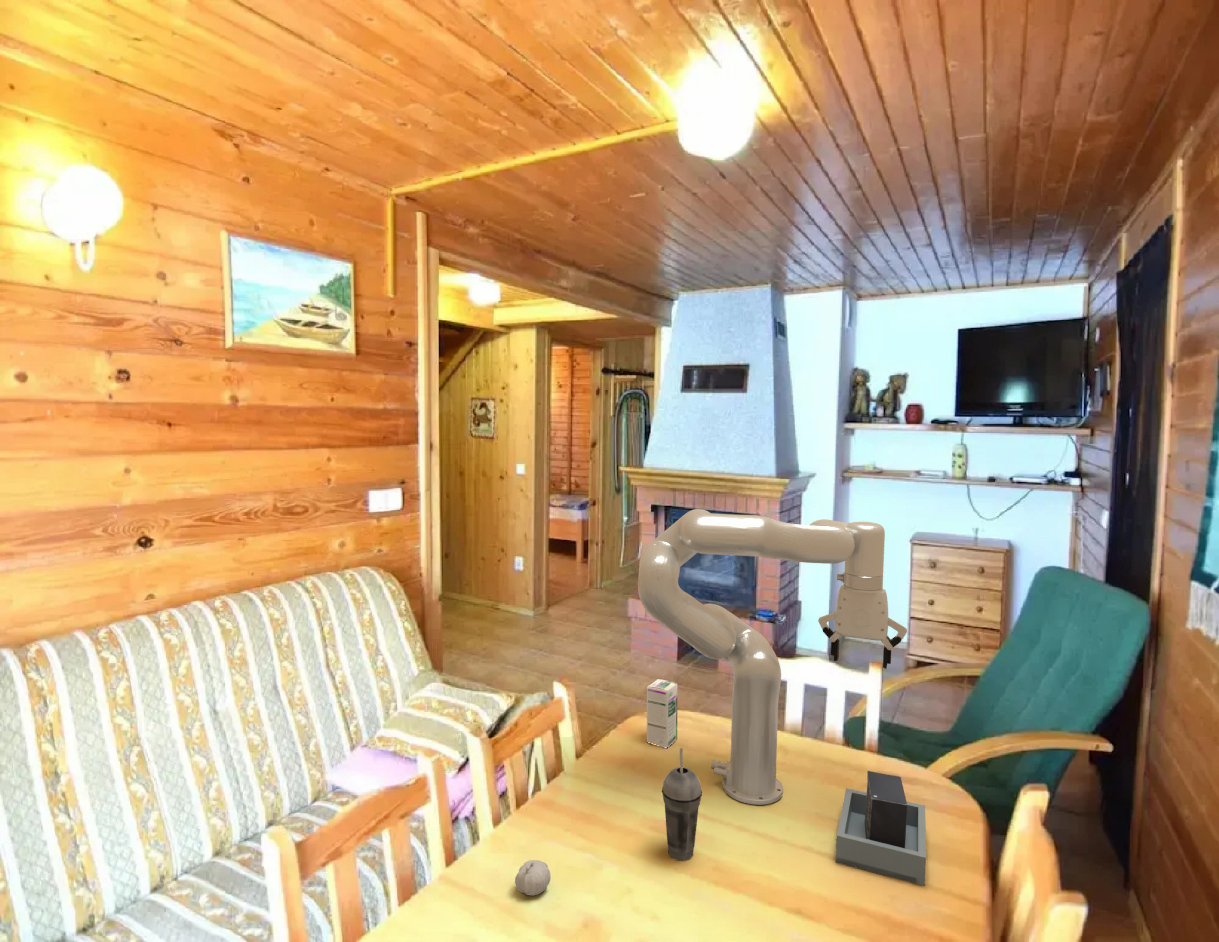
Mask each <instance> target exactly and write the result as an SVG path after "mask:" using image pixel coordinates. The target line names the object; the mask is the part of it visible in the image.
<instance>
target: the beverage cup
mask: <svg viewBox="0 0 1219 942" xmlns="http://www.w3.org/2000/svg"><path fill="white" fill-rule="evenodd" d="M683 750H684V748H681V747H680V748H679V767H675V768H673V769H672V770H670V771H669V772H668V773H667V775H666V776H665V778H664V780H663V784H662V788H661V793H662V800H663V803H664V812H665V817H664V818H665V828H666V829H665V830H666V843H667V849H668V855H669V856H670V858H671V859H674V860H675V861H676V860H677V861H682V862H683V861H687V860H691V859H692V858H693V856H694V849H695V846H696V844H695V843H696V842H695V841H696V834H697V825H698V824H697V823H698V816H699V815H698V814H699V807H700V805H701V801H702V796H703V790H702V784H701V781H700V780H699V777H698V775H697V774H696V773H695V772H694V771H693V770H691V769H690V768H688V767H684V753H683Z"/></svg>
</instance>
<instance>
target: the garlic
mask: <svg viewBox="0 0 1219 942" xmlns="http://www.w3.org/2000/svg"><path fill="white" fill-rule="evenodd" d="M550 882H551V871H550V869H549V867H548V864H547V863H546V862H545V861H543V860H539V859H529V860H527V861H525V862H524V863H523V865H521V866H520V867H519V869H518V872H517V873H516V875H515V879H514V883H515V884H514V885H515V887H516V889H517V890H518V891H519V892H520V893H522V894H525V895H527V896H537V895H540V894H541V893H542V892H544V891H546V890H547V888H548V886H549V885H550Z"/></svg>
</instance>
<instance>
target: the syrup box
mask: <svg viewBox="0 0 1219 942" xmlns="http://www.w3.org/2000/svg"><path fill="white" fill-rule="evenodd" d="M675 740H676V741H677V740H678V683H677V682H675V681H671V680H667V679H666V680H665V679H661V678H657V679H656V680H655V681H654V682H653V681H652V683H650V684H648V685H647V686H646V743H647V742H650V743H653V744H656V745H659V746H662V747H668V748H670V745H671V744H672V745H673V744H674V743H675V742H676V741H675ZM674 741H675V742H674ZM673 742H674V743H673ZM672 745H671V746H672ZM662 747H661V748H662Z"/></svg>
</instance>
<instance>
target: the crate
mask: <svg viewBox="0 0 1219 942" xmlns="http://www.w3.org/2000/svg"><path fill="white" fill-rule="evenodd" d="M866 797H867V791H866V792H865V791H861V790H857V789H853V788H848V787H847V788H845V793H844V798H843V802H842V806H841V807H842V808H841V812H840V818H839V821H838V822H839V823H838V827H837V832H836V841H835V863H836V864H840V865H844V866H848V867H851V868H855V869H858V870H862V871H867V872H871V873H873V874H878V875H882V876H886V877H890V878H892V879H893V878H894V879H896V880H900V881H903V882H907V883H908V882H909V883H911V884H915V885H919V886H923V887H925V885H926V870H927V869H926V867H927V866H926V865H927V844H926V843H927V839H926V838H927V835H926V833H927V831H926V805H924V804H920V803H916V802H911V801H907V822H906V840H905V848H901V847H897V846H893V845H889V844H885V843H880V842H876V841H872V840H868V839H866V832H865V812H866Z"/></svg>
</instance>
